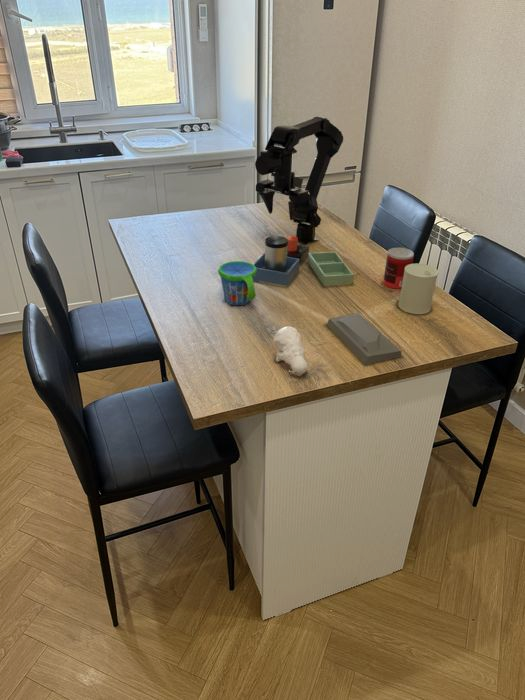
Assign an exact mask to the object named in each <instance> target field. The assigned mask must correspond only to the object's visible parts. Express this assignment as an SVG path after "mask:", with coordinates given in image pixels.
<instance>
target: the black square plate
mask: <svg viewBox="0 0 525 700" xmlns="http://www.w3.org/2000/svg"><path fill="white" fill-rule="evenodd" d="M308 253H310V246H309V245H304V244H297V250H296V251H292V252H291V251H287V257H292V258H298V259H300V265H301V264H302V263H303V262H304V260H305V259H306V258H308Z"/></svg>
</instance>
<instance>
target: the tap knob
mask: <svg viewBox="0 0 525 700" xmlns="http://www.w3.org/2000/svg"><path fill="white" fill-rule="evenodd" d="M285 238H287V239H288V245H287V251H291V252H292V251H296V250H297V245H298V242H299V241H298V238H297V237H296V235H287V236H285Z"/></svg>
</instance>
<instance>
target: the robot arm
mask: <svg viewBox="0 0 525 700" xmlns="http://www.w3.org/2000/svg"><path fill="white" fill-rule="evenodd" d="M313 135H314V137H315V138H316V142H315V146H316V152H317V153H316V157H315V158H314V162H313V165H312V168H311V170H310V172H309V173H310V174H309V176H308V179H307V181H306V185H305V188H304V189H302V186H303V182H304V178H301V177H299V176H296V173H295V171H293V157H294V156H293V155H294V154H297V153H298V150H297V149H296V148H295V147H297V145H299V143H300V141H301V140H303V139H306V138H308V137H310V136H313ZM343 143H344V135H343V134H342V131H341V130H340V129H339V128H338V127H337V126H335V125H334V124H333V123H331V121H330V120H329V119H328V118H327V117H322V116H314V117H312V118H311V119H308V120H305V121H302V122H300V123H297V124H294V125H277V126H275V127H274V128H273V131H272V132H271V134H270V137H269V138H268V141H267V143H266V145H265V148H264V150H263V151H260V152H259V153H260V155H259V156H257V158H256V159H255V162H254V166H255V167H254V168H255V170H256V172H257V173H258V174H259V175H260V176H267V175H269V174H270V176H271V177H273V180H269V179H264V180H260V181H258V182H257V183H256V185H255V192H257V194H258V195H260V198H261V199H262V201H263V203H264V205H265V208H266V210H267V212H268V214H270V215H271V214H272V213H273V211H274V209H273V208H274V196H275V194H276V193H277V194H280V195H284V196H286V197H287V196H288V199H289V201H287V202H288V203H287V204H288V214H289V220H290V221H293V223H295V224H297V225H296V231H295V237H297V238H298V242H299V243H302V244H303V245H307V244H308V245H309V244H312V243H314V242H317V241H319V240H318V238H317V237H316V228H318V227H319V226H320V225H321V222H322V218H321V216H320V215H319V214H318V209H319V205H318V200H317V199H318V195H319V194H320V190H321V187H322V185H323V182H324V179H325V176H326V173H327V170H328V167H329V165H330V163H331V160H332V158H333V157H334V156H335V155H336V154H337V153H338V152H339V151H340V148H341V147H342V144H343ZM296 188H297V189H296ZM294 189H295V190H294Z"/></svg>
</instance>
